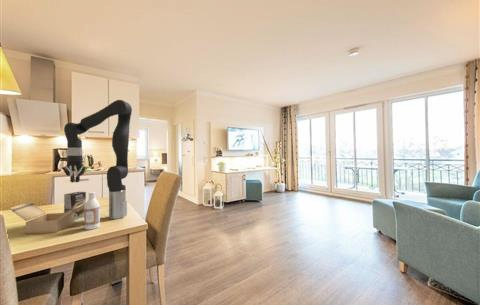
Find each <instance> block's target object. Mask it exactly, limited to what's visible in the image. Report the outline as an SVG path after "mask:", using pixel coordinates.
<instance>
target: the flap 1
mask: <svg viewBox="0 0 480 305" xmlns="http://www.w3.org/2000/svg"><path fill="white" fill-rule="evenodd" d="M9 210H11V211H12V213H15V215H17V216H18V217H20V218H21V219H22V220H24V221H25V222H28V221H30V220H33V219H35V218H38V217H40V216H43V215H45V214H47V213H46V212H45V211H44V210H43V209H42V208H40V207H39V206H37V204H35V203H33V202H32V201H28V202H25V203H21V204H19V205H18V204H17V205H15V206H13V207H9Z"/></svg>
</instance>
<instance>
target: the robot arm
mask: <svg viewBox="0 0 480 305" xmlns="http://www.w3.org/2000/svg"><path fill="white" fill-rule="evenodd" d="M132 109H133V108H132V105H131V104H130V103H129V102H127V101H125V100H123V99H117V100H114V101H113V102H111V103H110V104H108V105H107V106H105V107H103V108H102V109H100V110H98V111H96V112H95V113H92V114H89V115H88V116H85V117H83V118H81V120H80V122H78V123H76V122H75V123H74V122H68V123H66V124H65V125H64V128H63V131H64V135H65V138H66V141H67V143H66V144H67V149H66V165H65V166H63V167H61V169H62V171H63V172H64V173H65V175H66V176H69V177H70V178H69V179H70V182H71V183H79V182H80V180H81V179H80V178H81V176H83V175H84V174H85V173H86V170H88V166H85V165H84V164H83V142H82V139H81V138H79V135H83V134H85V133H87V131H89V130H90V129H92V128H94V127H97V126H99V125H100V124H102V123H104V122H105V120H107V119H109V118H110V117H113V116H117V124H116V127H115V128H114V131H113V133H112V138H111V147H112V150H113V152H114V154H115V158H116V159H115V160H116V161H115V165H113V166H110V167H108V169H107V170H106V171H107V172H106V182H107V184H106V185H107V188H108V218H109V219H111V220H116V219H123V218H125V217H126V216H127V215H128V202H127V200H126V199H127V198H126V197H127V196H126V192H127V191H126V190H127V189H126V185H125V184H123V183H122V182H123V181H122V180H123V179H125V178H127V176H128V174H129V165H128V164H129V162H128V158H129V157H128V156H129V154H128V153H129V143H130V142H129V140H130V123H131V116H132V111H133V110H132Z"/></svg>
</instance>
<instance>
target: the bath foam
mask: <svg viewBox="0 0 480 305" xmlns="http://www.w3.org/2000/svg"><path fill="white" fill-rule="evenodd" d="M83 218H84V219H83V220H84V221H83V222H84V223H83V224H84V229H85V230H89V231H90V230H95V229H97V228H100V226H101V220H100V219H101V206H100V202H99V201H98V199H97V198H96V192H95V191H90V192H88V200H87V201H86V204H85V207H84V217H83Z"/></svg>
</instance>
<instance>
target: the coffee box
mask: <svg viewBox="0 0 480 305" xmlns="http://www.w3.org/2000/svg"><path fill="white" fill-rule="evenodd" d="M63 197H64V198H63V203H64V204H63V205H64V206H63V213H68V212H69V211H71V210H72V209H74V208H75V207H78V206H80V205H82V204H84V203H86V202H87V201H86V200H87V192H86V191H76V192H75V191H74V192H70V193H64V194H63ZM84 207H85V205H84V206H83V207H81V208H80V209H78V210H77V211H75V212H74V221H76V220H79V219H82V218H84Z"/></svg>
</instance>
